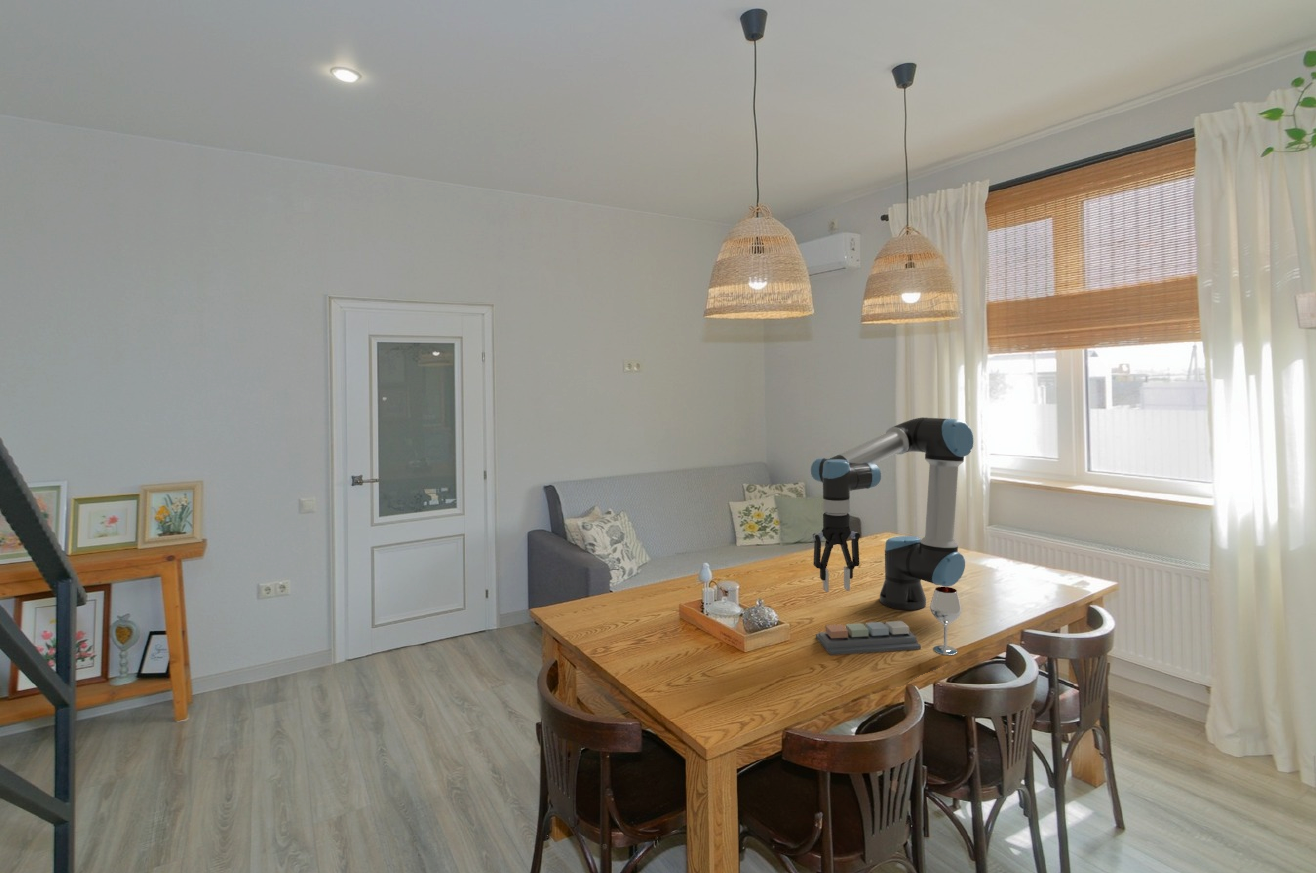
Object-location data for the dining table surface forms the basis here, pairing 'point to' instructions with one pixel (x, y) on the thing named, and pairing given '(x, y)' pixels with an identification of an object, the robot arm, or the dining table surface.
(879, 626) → the key bluegrey
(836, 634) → the key terracotta
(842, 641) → the keypad
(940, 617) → the wineglass
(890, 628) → the key ivory
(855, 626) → the key sage
